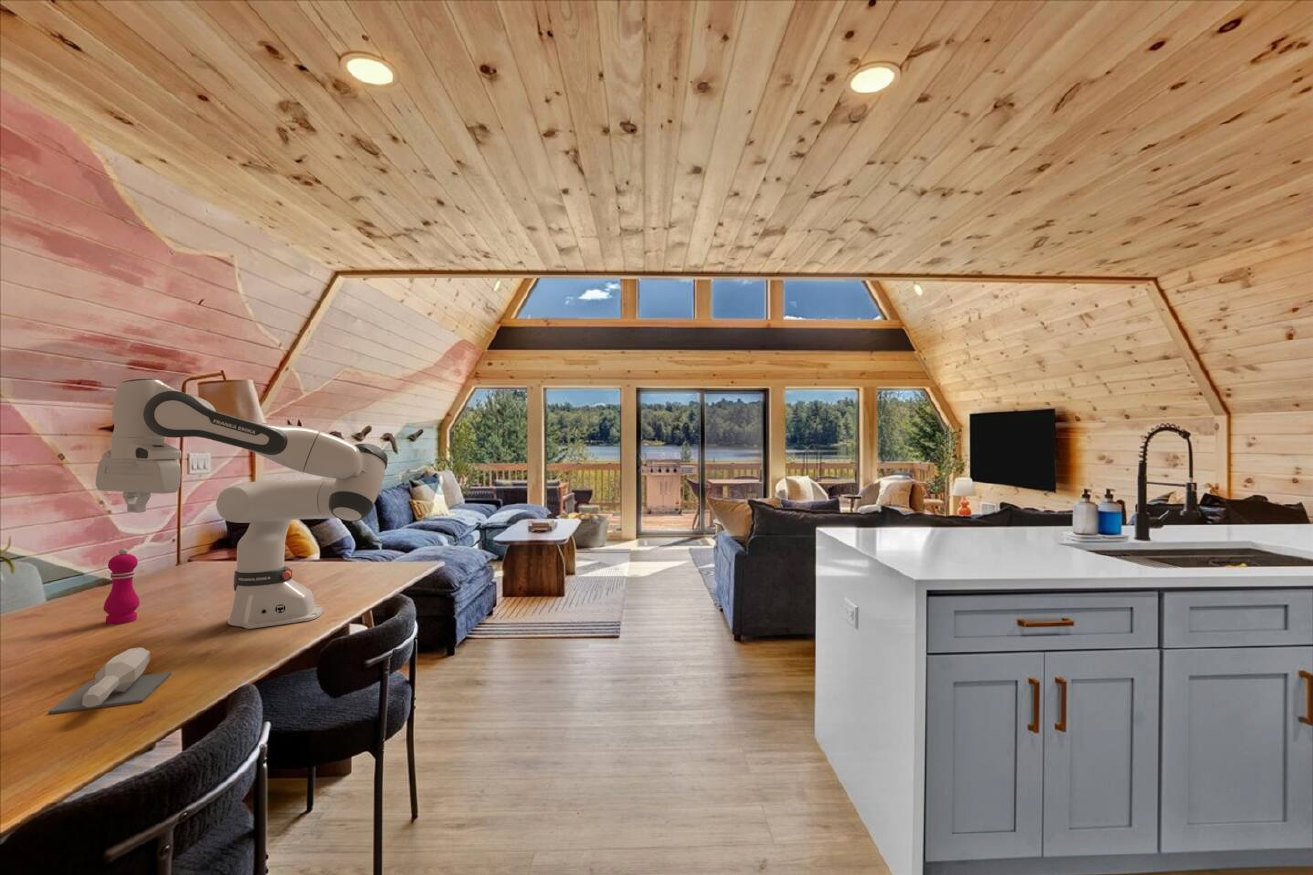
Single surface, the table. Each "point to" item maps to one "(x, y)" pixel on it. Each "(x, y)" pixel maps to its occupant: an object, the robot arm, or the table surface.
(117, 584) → the pepper mill
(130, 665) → the low poly bottle
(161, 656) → the table surface
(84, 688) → the grey square plate
